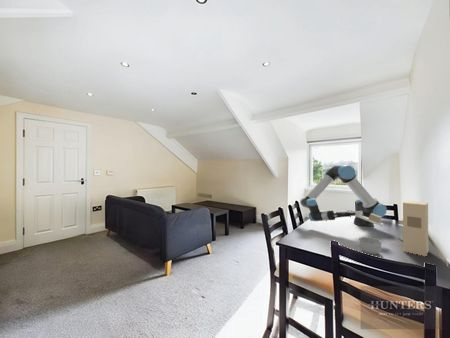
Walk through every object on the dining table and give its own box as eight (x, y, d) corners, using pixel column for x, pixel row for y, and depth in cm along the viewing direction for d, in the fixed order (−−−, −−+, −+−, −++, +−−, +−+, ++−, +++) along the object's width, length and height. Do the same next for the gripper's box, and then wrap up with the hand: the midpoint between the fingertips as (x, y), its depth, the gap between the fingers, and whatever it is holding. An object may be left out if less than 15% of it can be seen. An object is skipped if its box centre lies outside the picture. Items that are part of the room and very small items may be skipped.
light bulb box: (419, 244, 133) (419, 228, 133) (407, 243, 134) (407, 227, 134) (408, 239, 143) (408, 224, 144) (397, 238, 145) (397, 223, 145)
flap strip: (348, 212, 153) (350, 205, 152) (382, 225, 137) (385, 218, 136) (346, 212, 150) (348, 206, 149) (381, 226, 134) (384, 219, 133)
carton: (406, 246, 129) (406, 200, 129) (428, 251, 121) (427, 202, 122) (403, 251, 121) (402, 202, 122) (426, 256, 114) (425, 204, 114)
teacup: (380, 258, 112) (380, 244, 112) (357, 252, 119) (357, 239, 120) (382, 250, 123) (382, 237, 123) (361, 246, 130) (361, 234, 130)
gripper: (333, 218, 166) (365, 216, 150) (325, 221, 155) (359, 220, 138) (331, 209, 168) (363, 206, 151) (323, 212, 156) (356, 209, 139)
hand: (361, 213), depth 145 cm, fingers closed on flap strip, 4 cm apart
